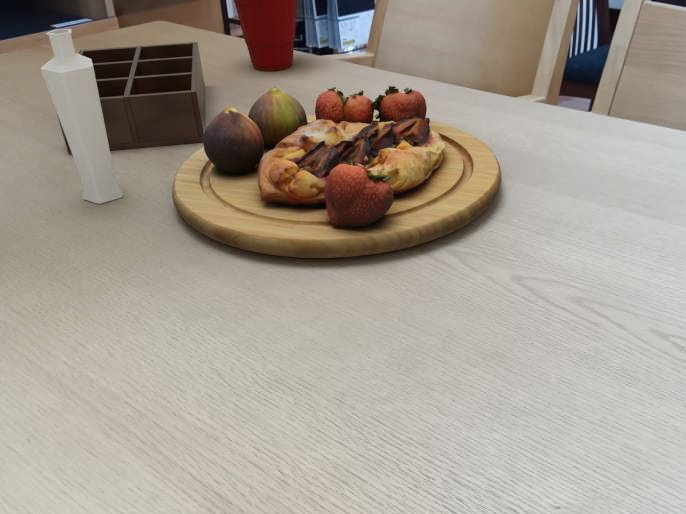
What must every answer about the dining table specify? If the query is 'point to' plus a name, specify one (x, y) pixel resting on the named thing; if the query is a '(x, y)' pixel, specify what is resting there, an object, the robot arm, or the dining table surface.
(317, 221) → the wooden plate
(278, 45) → the plastic cup
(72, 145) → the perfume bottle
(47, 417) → the dining table surface
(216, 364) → the dining table surface
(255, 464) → the dining table surface
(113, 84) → the rack
